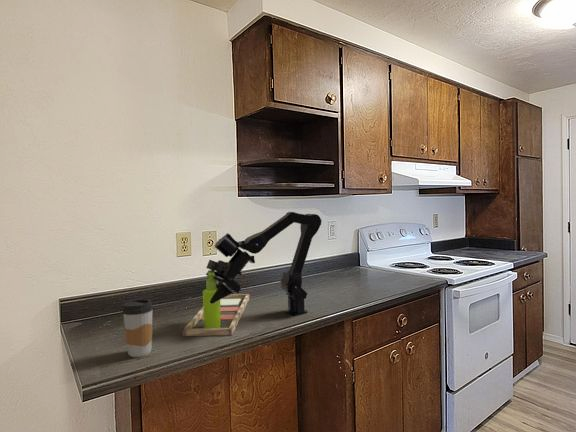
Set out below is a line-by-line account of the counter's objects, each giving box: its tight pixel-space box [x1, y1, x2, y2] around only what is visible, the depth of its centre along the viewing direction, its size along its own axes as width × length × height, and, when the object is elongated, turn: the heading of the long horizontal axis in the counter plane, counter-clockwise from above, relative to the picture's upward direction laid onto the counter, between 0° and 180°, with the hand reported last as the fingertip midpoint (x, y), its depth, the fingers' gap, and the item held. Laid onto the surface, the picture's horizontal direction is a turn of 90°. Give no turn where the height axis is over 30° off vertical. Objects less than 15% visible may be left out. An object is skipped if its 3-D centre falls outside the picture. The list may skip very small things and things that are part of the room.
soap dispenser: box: [202, 269, 222, 328], centre depth 124 cm, size 6×7×20 cm
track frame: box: [182, 293, 251, 337], centre depth 140 cm, size 44×16×2 cm, turn 179°
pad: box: [220, 299, 242, 307], centre depth 156 cm, size 9×9×1 cm
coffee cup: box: [121, 298, 154, 358], centre depth 105 cm, size 8×8×15 cm
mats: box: [199, 306, 240, 321], centre depth 140 cm, size 15×13×1 cm
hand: (207, 300), depth 124 cm, fingers closed on soap dispenser, 6 cm apart
